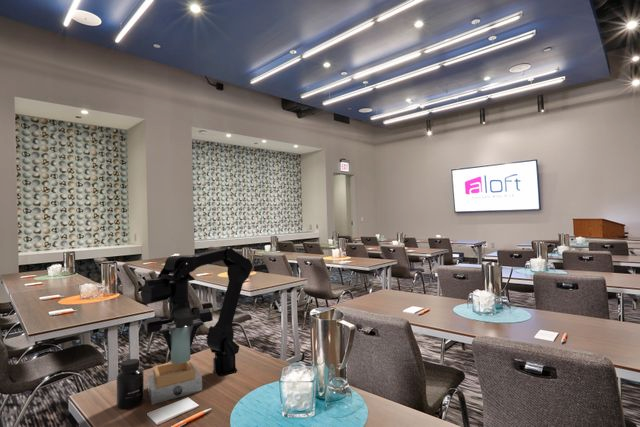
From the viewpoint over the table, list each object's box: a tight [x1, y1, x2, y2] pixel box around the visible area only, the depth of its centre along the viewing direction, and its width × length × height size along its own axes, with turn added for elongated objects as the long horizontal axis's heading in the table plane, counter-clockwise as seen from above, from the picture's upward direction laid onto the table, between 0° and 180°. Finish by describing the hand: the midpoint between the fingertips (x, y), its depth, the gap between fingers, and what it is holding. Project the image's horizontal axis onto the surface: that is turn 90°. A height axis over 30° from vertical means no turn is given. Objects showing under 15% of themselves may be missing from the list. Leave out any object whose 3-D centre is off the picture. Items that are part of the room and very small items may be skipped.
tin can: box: [169, 324, 191, 364], centre depth 107 cm, size 6×6×10 cm
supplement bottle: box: [116, 358, 145, 410], centre depth 101 cm, size 7×7×12 cm
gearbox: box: [146, 360, 203, 405], centre depth 109 cm, size 14×13×6 cm
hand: (180, 348), depth 107 cm, fingers closed on tin can, 5 cm apart
